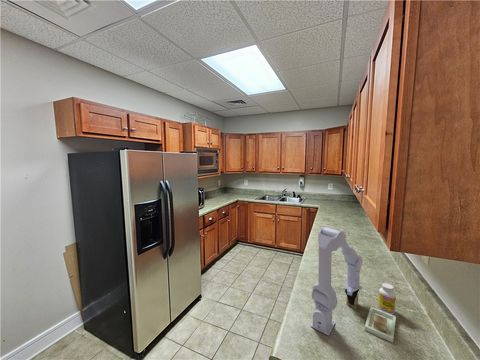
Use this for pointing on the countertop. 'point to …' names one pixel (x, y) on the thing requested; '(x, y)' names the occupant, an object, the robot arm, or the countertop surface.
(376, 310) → the tray
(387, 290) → the supplement bottle
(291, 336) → the countertop surface
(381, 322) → the cube
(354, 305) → the cube
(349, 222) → the countertop surface
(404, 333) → the countertop surface
